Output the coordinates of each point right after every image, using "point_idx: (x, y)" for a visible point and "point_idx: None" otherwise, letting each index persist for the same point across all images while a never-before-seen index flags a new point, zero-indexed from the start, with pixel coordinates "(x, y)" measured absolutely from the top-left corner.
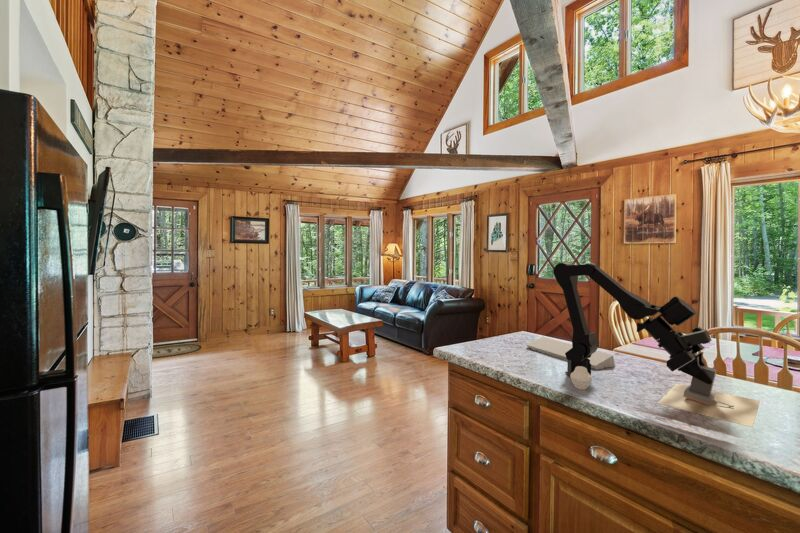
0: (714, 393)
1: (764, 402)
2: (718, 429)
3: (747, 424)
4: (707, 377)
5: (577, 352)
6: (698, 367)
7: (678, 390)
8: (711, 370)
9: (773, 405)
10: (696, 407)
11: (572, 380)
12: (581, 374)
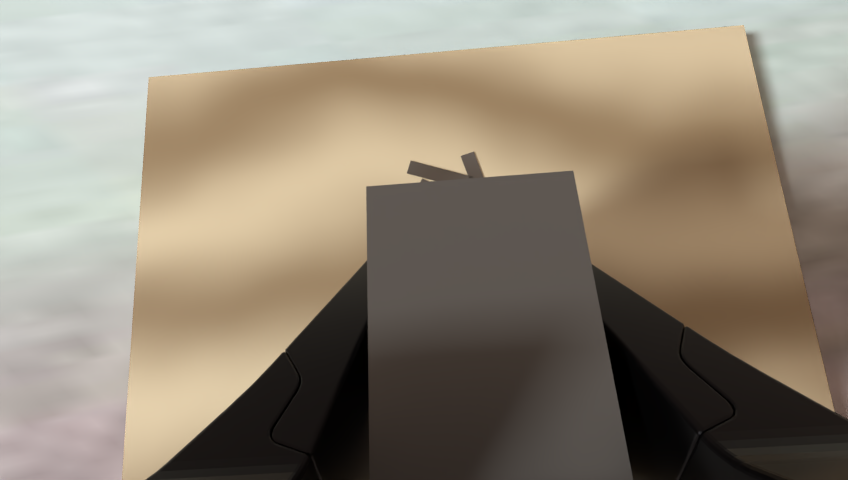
0: (194, 316)
1: (74, 89)
2: (843, 175)
3: (722, 49)
4: (607, 277)
5: None
6: (806, 417)
7: None
8: (559, 223)
9: (102, 48)
10: None
11: None
12: None
